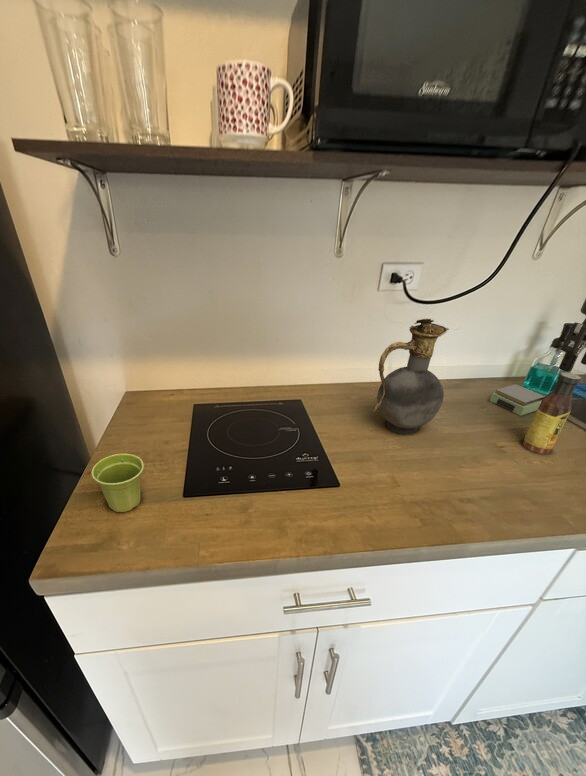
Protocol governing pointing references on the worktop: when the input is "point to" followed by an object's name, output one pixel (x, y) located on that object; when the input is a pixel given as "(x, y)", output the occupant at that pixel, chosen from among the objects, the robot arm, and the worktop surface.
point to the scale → (514, 404)
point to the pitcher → (411, 382)
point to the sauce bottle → (551, 415)
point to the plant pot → (120, 480)
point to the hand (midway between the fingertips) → (575, 367)
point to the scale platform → (519, 394)
